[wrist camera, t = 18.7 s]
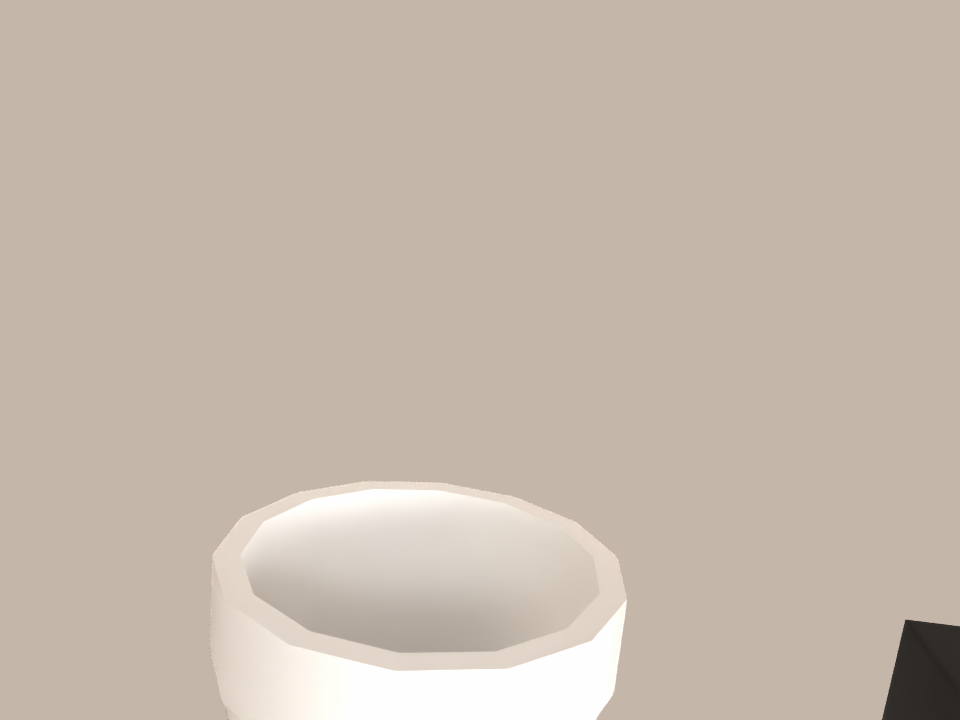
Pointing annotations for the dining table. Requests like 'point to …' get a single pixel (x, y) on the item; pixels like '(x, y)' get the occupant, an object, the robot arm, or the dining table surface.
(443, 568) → the foam cup
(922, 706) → the robot arm
